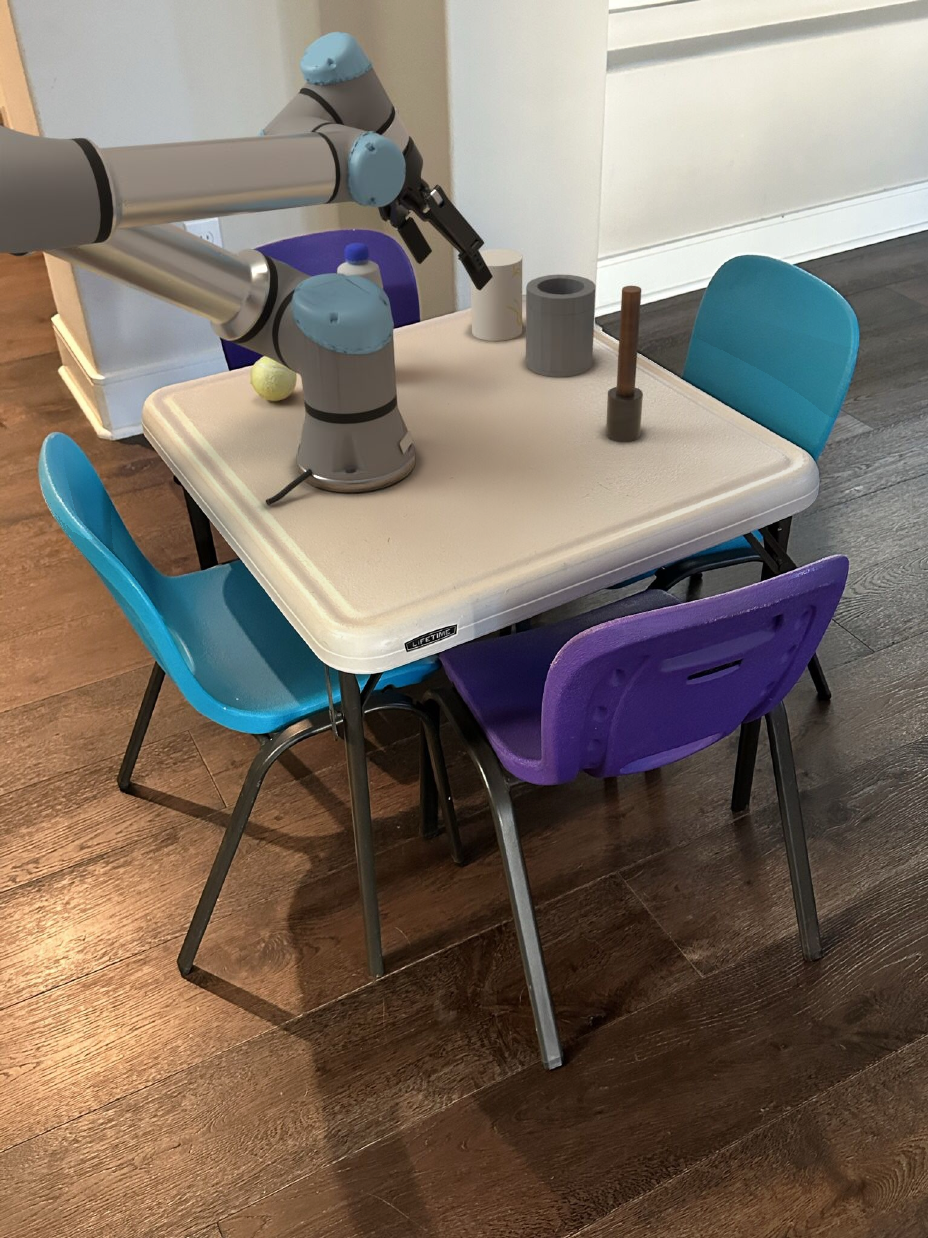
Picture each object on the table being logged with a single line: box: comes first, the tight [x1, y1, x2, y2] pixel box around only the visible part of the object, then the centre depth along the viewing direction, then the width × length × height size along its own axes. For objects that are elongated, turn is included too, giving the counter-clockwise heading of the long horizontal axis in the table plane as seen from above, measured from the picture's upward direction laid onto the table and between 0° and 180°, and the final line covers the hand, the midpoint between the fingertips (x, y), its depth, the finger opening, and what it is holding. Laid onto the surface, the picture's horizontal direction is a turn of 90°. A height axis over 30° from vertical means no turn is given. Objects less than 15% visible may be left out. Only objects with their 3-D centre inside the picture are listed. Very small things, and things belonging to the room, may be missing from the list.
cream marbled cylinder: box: [470, 248, 523, 342], centre depth 179 cm, size 8×8×12 cm
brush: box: [605, 285, 644, 443], centre depth 146 cm, size 5×5×20 cm
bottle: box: [336, 242, 384, 290], centre depth 163 cm, size 7×7×20 cm
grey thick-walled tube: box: [525, 273, 597, 378], centre depth 168 cm, size 10×10×12 cm
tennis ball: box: [249, 355, 297, 402], centre depth 162 cm, size 6×7×7 cm
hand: (454, 269), depth 161 cm, fingers open, 13 cm apart
